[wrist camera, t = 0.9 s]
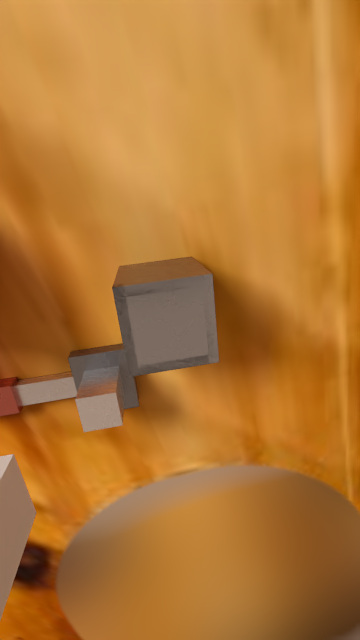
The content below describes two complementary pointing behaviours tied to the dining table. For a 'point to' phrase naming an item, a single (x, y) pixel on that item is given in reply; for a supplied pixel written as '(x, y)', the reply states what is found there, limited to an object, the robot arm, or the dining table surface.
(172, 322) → the rimmed grey cube
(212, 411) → the dining table surface
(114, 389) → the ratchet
